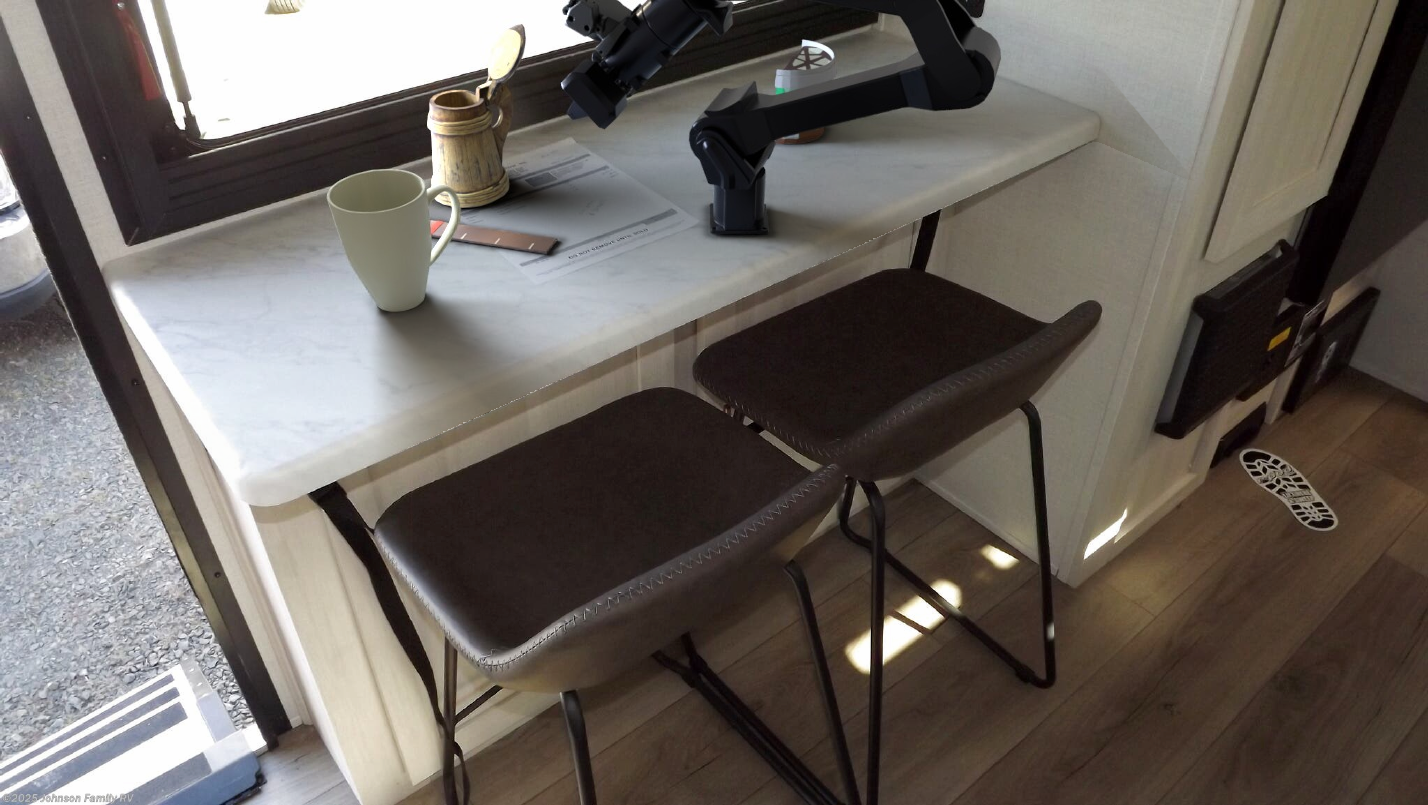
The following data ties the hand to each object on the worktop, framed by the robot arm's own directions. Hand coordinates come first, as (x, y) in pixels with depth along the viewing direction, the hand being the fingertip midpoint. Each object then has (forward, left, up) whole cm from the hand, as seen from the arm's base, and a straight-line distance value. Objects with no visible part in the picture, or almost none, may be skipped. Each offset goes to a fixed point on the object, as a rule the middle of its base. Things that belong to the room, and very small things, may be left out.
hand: (570, 115), depth 115 cm
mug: (-21, +15, -10) cm, 28 cm away
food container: (+18, -29, -10) cm, 36 cm away
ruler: (-9, +11, -10) cm, 18 cm away
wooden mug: (+3, +11, -10) cm, 15 cm away
